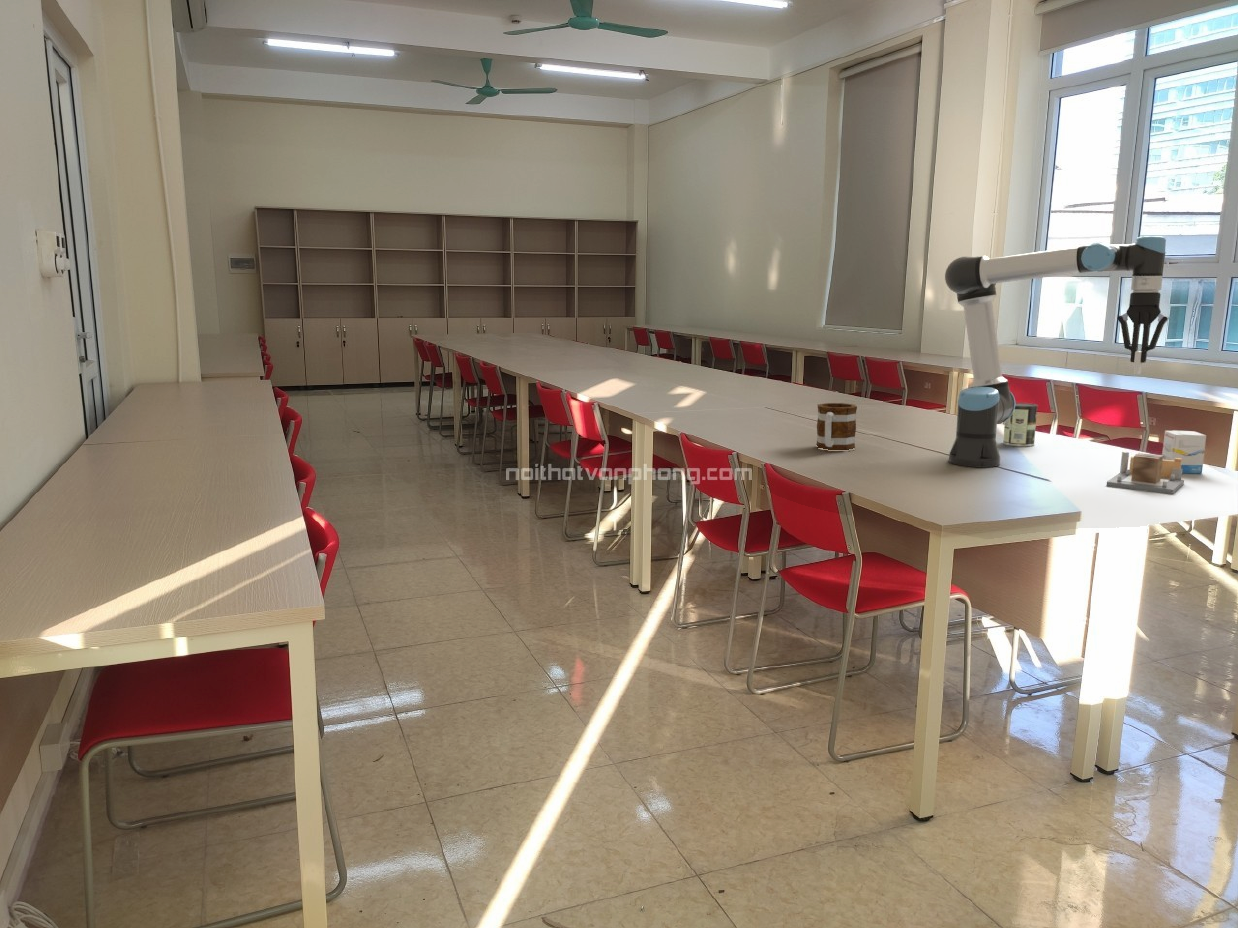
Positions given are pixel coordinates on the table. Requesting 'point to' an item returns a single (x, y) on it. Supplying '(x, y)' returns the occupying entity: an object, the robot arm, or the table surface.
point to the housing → (1162, 486)
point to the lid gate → (1164, 466)
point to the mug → (836, 426)
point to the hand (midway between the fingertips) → (1136, 373)
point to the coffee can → (1021, 425)
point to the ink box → (1185, 449)
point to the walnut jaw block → (1147, 468)
